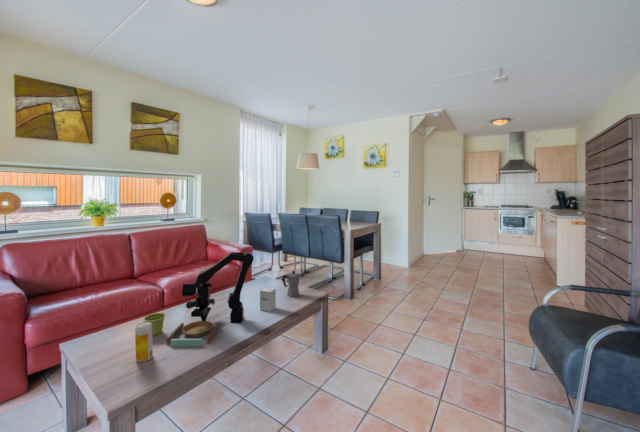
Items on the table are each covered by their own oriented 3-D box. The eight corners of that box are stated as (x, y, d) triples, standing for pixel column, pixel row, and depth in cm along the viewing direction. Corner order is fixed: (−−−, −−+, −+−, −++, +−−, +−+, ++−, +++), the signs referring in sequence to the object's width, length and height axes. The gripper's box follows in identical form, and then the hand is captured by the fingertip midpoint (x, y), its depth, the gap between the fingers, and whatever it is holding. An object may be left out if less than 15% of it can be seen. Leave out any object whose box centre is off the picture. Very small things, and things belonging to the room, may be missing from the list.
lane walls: (220, 327, 145) (220, 322, 145) (209, 343, 129) (209, 337, 129) (181, 328, 144) (181, 322, 144) (166, 344, 128) (166, 338, 128)
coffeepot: (298, 292, 204) (298, 268, 203) (304, 295, 196) (304, 271, 195) (279, 295, 196) (279, 270, 195) (284, 299, 188) (285, 274, 187)
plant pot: (155, 338, 133) (155, 321, 133) (139, 336, 135) (139, 319, 134) (169, 330, 142) (169, 313, 142) (154, 328, 144) (154, 312, 144)
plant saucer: (183, 327, 145) (183, 322, 145) (213, 323, 150) (213, 319, 150) (180, 341, 131) (179, 335, 131) (212, 336, 136) (212, 331, 136)
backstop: (202, 344, 128) (202, 338, 128) (201, 345, 127) (201, 339, 127) (171, 345, 127) (171, 339, 127) (170, 346, 126) (170, 340, 126)
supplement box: (259, 310, 169) (259, 290, 169) (266, 306, 176) (266, 286, 176) (269, 312, 167) (269, 292, 166) (276, 307, 174) (276, 288, 173)
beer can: (141, 354, 119) (140, 321, 118) (155, 354, 120) (154, 321, 119) (132, 363, 113) (131, 328, 112) (148, 362, 114) (147, 327, 113)
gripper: (195, 288, 157) (195, 315, 158) (180, 301, 138) (180, 330, 139) (215, 288, 157) (215, 315, 158) (202, 301, 139) (202, 330, 140)
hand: (203, 322), depth 149 cm, fingers closed
